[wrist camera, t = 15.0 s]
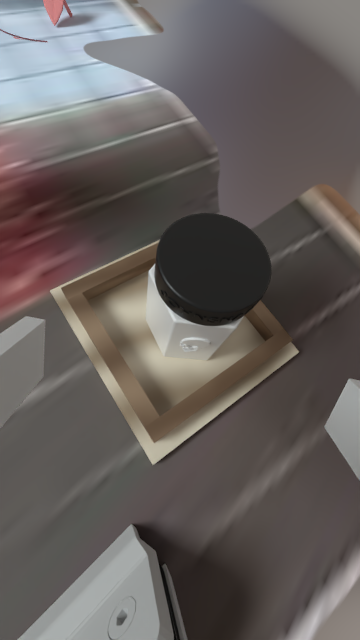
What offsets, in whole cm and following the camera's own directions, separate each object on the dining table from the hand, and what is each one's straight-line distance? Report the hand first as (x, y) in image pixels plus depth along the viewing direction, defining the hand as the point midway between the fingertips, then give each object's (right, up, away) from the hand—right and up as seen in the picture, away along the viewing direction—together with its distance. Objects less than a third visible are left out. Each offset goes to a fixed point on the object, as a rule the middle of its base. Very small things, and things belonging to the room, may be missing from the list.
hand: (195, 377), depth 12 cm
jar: (0, +2, +18) cm, 18 cm away
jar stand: (-1, +2, +19) cm, 19 cm away
